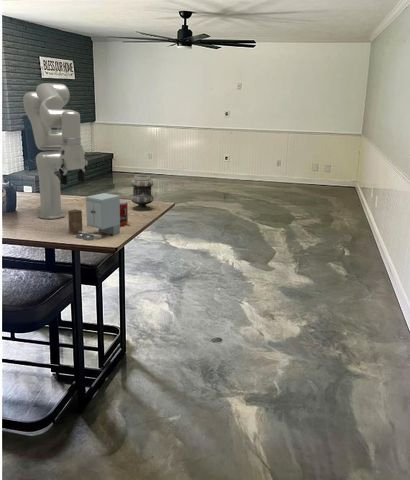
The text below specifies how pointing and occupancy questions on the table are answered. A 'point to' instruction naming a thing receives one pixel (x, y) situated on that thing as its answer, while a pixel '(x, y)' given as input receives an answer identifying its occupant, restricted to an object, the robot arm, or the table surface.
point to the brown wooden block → (77, 223)
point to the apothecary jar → (142, 192)
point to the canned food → (123, 213)
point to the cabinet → (104, 212)
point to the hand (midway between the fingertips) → (72, 182)
